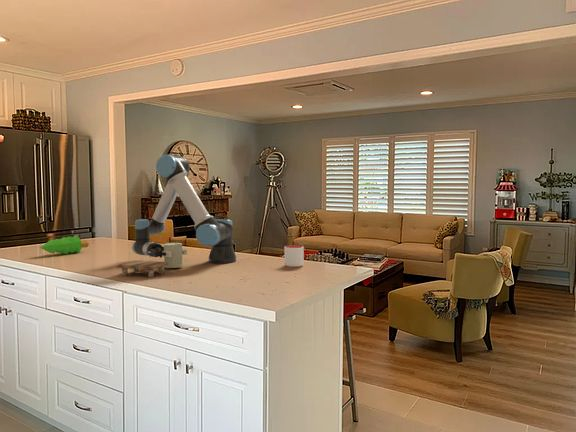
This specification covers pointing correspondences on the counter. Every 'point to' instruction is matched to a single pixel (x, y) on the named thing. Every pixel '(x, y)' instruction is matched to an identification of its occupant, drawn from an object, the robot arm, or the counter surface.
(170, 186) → the robot arm
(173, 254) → the grey-green block
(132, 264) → the wooden pallet
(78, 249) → the decorative tree
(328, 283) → the counter surface
